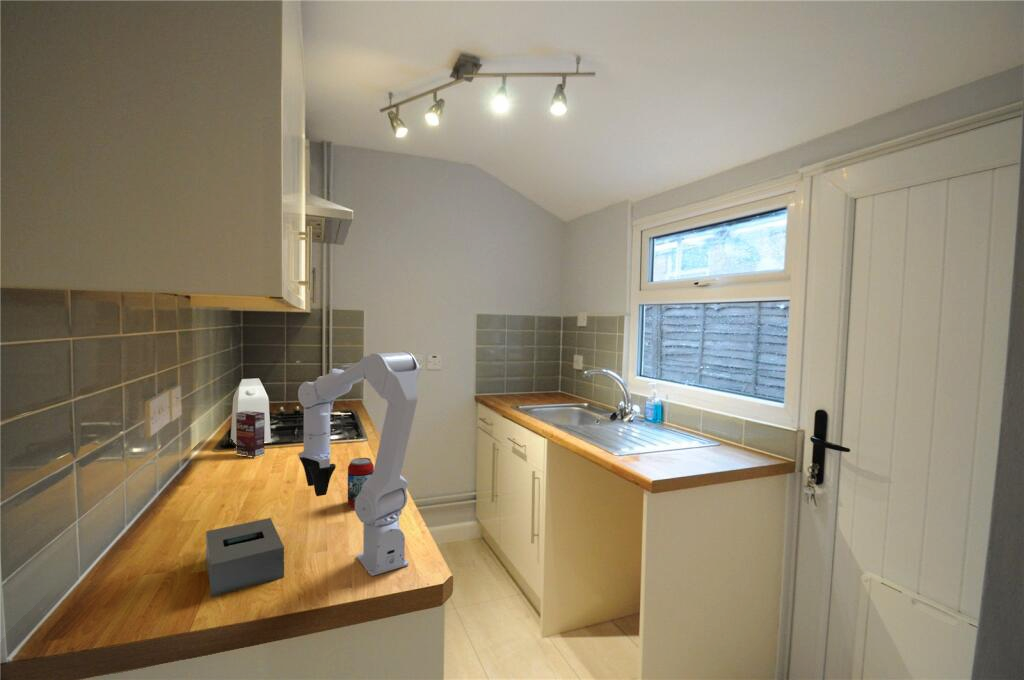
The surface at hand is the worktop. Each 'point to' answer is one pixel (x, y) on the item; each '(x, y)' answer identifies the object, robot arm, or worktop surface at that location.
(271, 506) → the worktop surface
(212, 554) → the coin box
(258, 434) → the supplement box
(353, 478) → the beverage can
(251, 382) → the milk
